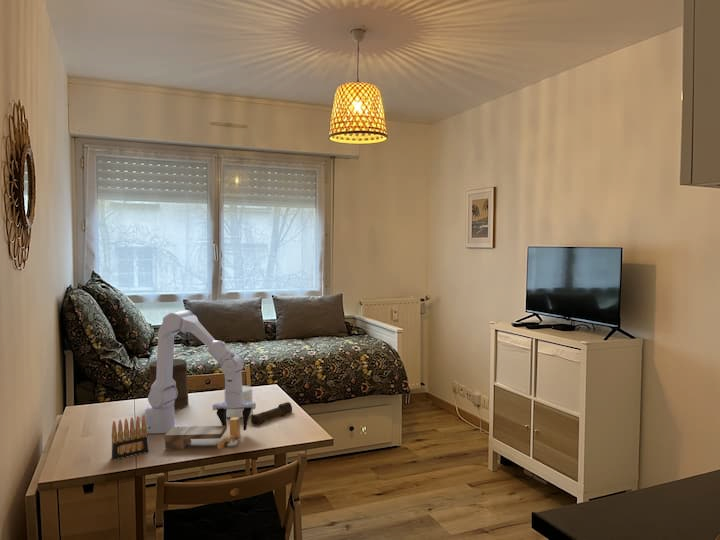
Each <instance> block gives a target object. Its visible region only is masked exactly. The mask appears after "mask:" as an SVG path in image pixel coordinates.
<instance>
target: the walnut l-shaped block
mask: <svg viewBox="0 0 720 540" xmlns="http://www.w3.org/2000/svg"><path fill="white" fill-rule="evenodd" d="M225 432H227V429H226V426H222V425H206V426H205V425H204V426H202V425H201V426H199V425H198V426H197V425H195V426H178V427H172V428H171V429H170V430H169V431H168V432H167V433H164V450H165V451H185V449H186V448H187V447H188V445H190V443H191V442H192V440H210V439H221V438H222V437H223V436H224V434H225ZM190 441H191V442H190ZM186 446H187V447H186Z"/></svg>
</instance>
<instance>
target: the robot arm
mask: <svg viewBox="0 0 720 540" xmlns="http://www.w3.org/2000/svg"><path fill="white" fill-rule="evenodd" d="M180 332H182V333H191V334H192V335H193V336H195V337H196V338H197V339H198V340H199V341H200V342H202V344H204V345H205V347H207V352H208V354H209V355H210V356H211V357H212V358H213V359H214V360H215V361H216V362H217V363H218V364H219V365H220V366H221V367H220V368H221V371H222V373H223V375H224V390H225V395H226V402H225V401H224V402H214V403H212V411H216V416H217V417H218V420H219V421H220V422H221V426H226V430H227V429H228V425H227V424H228V423H227V422H228V421H227V417H226V413H227V409H244V410H243V412H242V413H243V418H242V421H243V424H242V427H243V431H247V426H248V421H249V417H250V416H251V415H250V413H251V410H252V409H253V410H255V409H257V402H256V401H252V402H243V397H242V386H243V376H242V375H243V372H242V370H243V368H244V367H245V360H244V358H243V357H242V355H240V354H235V351H232V350H231V349H230V348H229V347H228V346H227V345H226V342H225V341H222V340H216V339H215V338H214V337H213V336H212V334H211V333H209V331H208V330H207V329H206V328H205V327H204V325H203V324H202V323H201V322H200V321H199V319H198V317H197V315H195V314H194V313H193V312H192V311H191V310H189V309H183V310H180V311H177V312H176V311H175V312H169V313H168V314H167V315H165V316H164V317H163V318H162V323H161V325H160V326H159V328H158V332H157V333H158V335H157V350H156V351H157V352H156V361H157V372H156V380H155V382H154V383H153V384H152V386H151V391H150V390H149V393H148V395H147V402H148V404H149V405H148V406H147V407H146V409H145V415H144V417H145V421H146V428H147V435H149V434H166V433H167V432H168V431H169V430H170V429H171V428H172V427H180V425H179V424H176V421H175V410H174V403H175V399H176V398H177V395H178V391H177V388H176V382H175V381H174V380H173V378H172V375H173V359H174V352H175V350H174V349H175V336H176V335H178V334H179V333H180ZM249 415H250V416H249Z"/></svg>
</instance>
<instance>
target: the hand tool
mask: <svg viewBox="0 0 720 540" xmlns="http://www.w3.org/2000/svg"><path fill="white" fill-rule="evenodd" d="M292 412H293V406H292V403H291V402H289V401H287V402H286V401H285V402H283V403H280V404H278V407H274V408H272V409H269V410H266V411H262V412H259V413H257V414H252V415H250V423H251V425H254V426H258V425H259V424H260V425H261V423H264V422H267V421H269V420H273V419H275V418H277V417H286V416H288V415H289V413H290V414H292ZM287 414H288V415H287ZM285 415H286V416H285Z"/></svg>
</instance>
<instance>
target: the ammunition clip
mask: <svg viewBox="0 0 720 540" xmlns="http://www.w3.org/2000/svg"><path fill="white" fill-rule="evenodd" d="M140 421H141V422H140ZM123 426H124V429H123ZM111 427H112V428H111V459H112V460H113V461H114V459H115V460H118V458H119V459H123V458H122V457H124V458H128V457H132V456H131V455H133V456H136V455H135V454H137V455H140V454H139V453H142V454H145V453H144V452H146V453H149V443H148V434H147V428H146V418H145V415H144V414H142V417H141V420H140V418H139V416H136V418H135V420H134V418H133V417H130V422H129V421H128V419H127V418H125V419H124V425H123V423H122V420H121V419H119V420H118V426H117V424H116V422H115V420H113V421H112V426H111ZM117 427H118V428H117ZM117 429H118V430H117ZM127 456H128V457H127Z"/></svg>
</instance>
